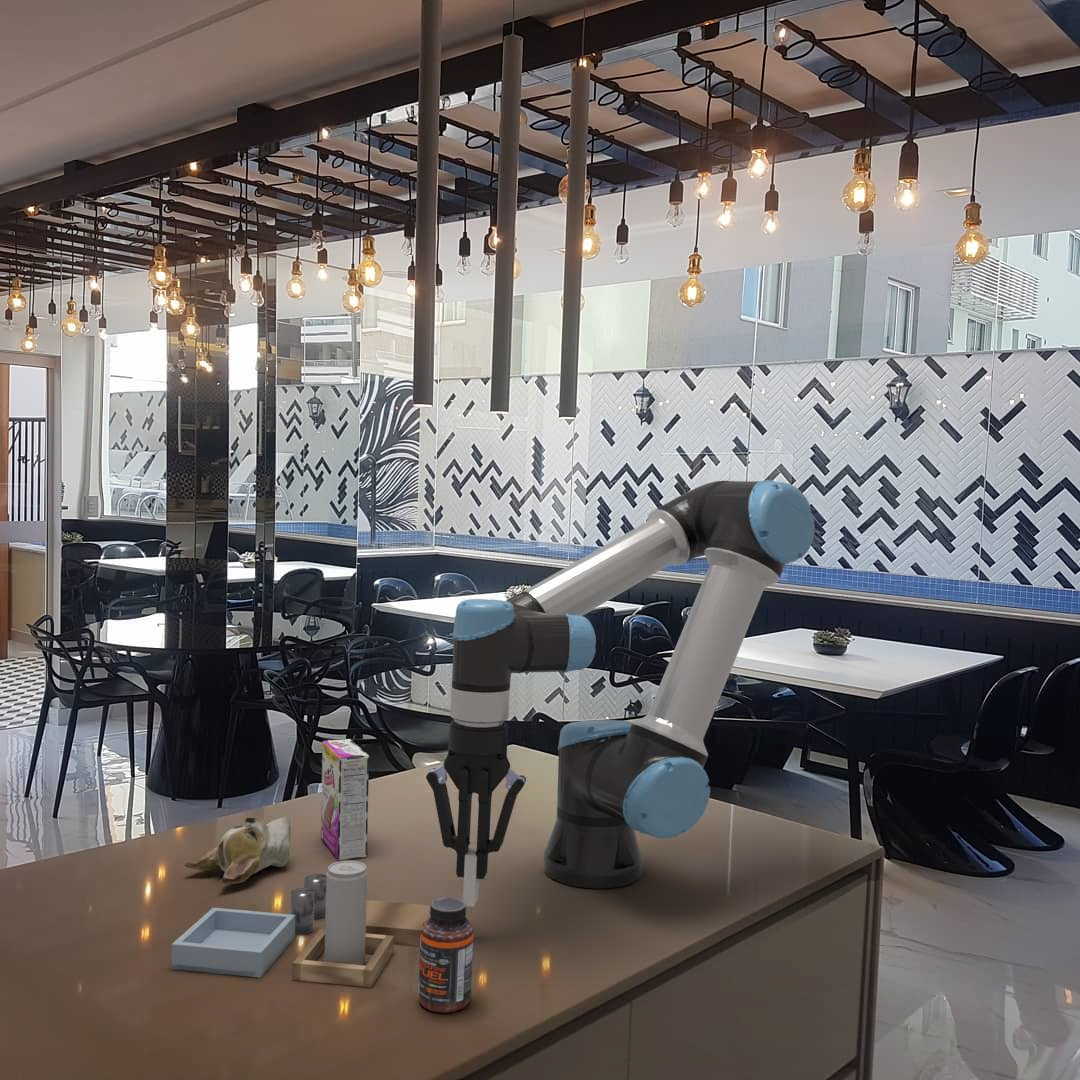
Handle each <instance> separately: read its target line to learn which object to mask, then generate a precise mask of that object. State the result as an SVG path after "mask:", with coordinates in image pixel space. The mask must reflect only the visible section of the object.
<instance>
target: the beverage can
mask: <svg viewBox="0 0 1080 1080" xmlns="http://www.w3.org/2000/svg"><path fill="white" fill-rule="evenodd" d="M326 876H327V881H326V916H325V924H324V928H325V929H324V930H325V950H324V962H332V963H342V964H353V965H364V964H365V961H366V953H365V938H366V902H367V900H368V899H367V896H368V894H367V893H368V890H367V889H368V870H367V865H366V864H365V863H364V862H361V861H357V860H345V861H339V860H338V861H337V862H336V861H335V862H333V863H331V864H329V866H328V867H327V871H326Z"/></svg>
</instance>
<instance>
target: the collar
mask: <svg viewBox="0 0 1080 1080" xmlns="http://www.w3.org/2000/svg"><path fill="white" fill-rule="evenodd" d="M394 947H395V944H394V936H389V935H378V934H367V933H366V938H365V954H372V956H371V957H370V959H369V961H368V963H367V964H366V965H364V964H363V965H353V964H342V963H332V962H325V961H319V960H318V959H319V958H320V956H321V954H322V953H323V952H325V929H321V928H320V929H319V930H318V931H317V933H316V934H315V935H314V937H312V939H311V940H310V941H309V942H308V944H307V945H306V946H305V947H304V948H303V950H301V952H300V953H299V954H298V956H297V957H296V958H295V960H294V961H292V969H291V970H292V975H291V978H292V979H291V980H292V981H302V982H312V983H324V984H330V985H331V984H332V985H341V986H342V985H343V986H353V987H364V988H372V987H373V986H374V984H375V983H376V981H377V979H378V978H379V976H380V975H381V973H382V971H383V970H384V968H385V967H386V965H387V963H388V961H389V960H390V958H391V956H392V955H393V953H394V952H395V948H394Z"/></svg>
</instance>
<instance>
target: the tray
mask: <svg viewBox="0 0 1080 1080" xmlns="http://www.w3.org/2000/svg"><path fill="white" fill-rule="evenodd" d="M295 937H296V935H295V915H291V914H290V913H289V914H288V913H280V912H279V913H277V912H268V911H267V912H265V911H256V910H255V911H254V910H246V909H244V910H243V909H232V908H221V907H211V909H209V911H208V912H206V913H204V915H203V916H202V917H200V919H199V920H198V921H196V922H195V923H194V924H192V925H191V926H190V928H188V929H187V930H186V931H184V933H183V934H181V935H180V936H179V937H178V938H177V939H176V940H175V941H173V943H171V967H170V968H171V970H177V971H178V970H179V971H185V972H187V971H188V972H197V973H199V972H200V973H206V974H207V973H208V974H218V975H219V974H221V975H228V976H229V975H230V976H239V977H248V978H249V977H250V978H260V979H261V978H262V977H263V976H264V975H265V973H266V972H267V971H268V970H269V969H270V968H271V966H272V965H273V964H274V963H275V962H276V960H277V959H278V958H279V957H280V956H281V955H282V954H283V953H284V952H285V950H286V949H287V947H289V946H290V944H292V942H293V941H294V940H295Z"/></svg>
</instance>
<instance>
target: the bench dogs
mask: <svg viewBox="0 0 1080 1080" xmlns="http://www.w3.org/2000/svg"><path fill="white" fill-rule="evenodd" d="M303 881H304V883H303V884H304V887H298V888H295V889H293V890H291V891H290V913H289V914H291V915H295V936H304V935H309V934H311V933H313V932H314V929H315V927H314V925H315V920H318V919H319V920H320V919H322V918H326V881H327V874H326V875H325V874H321V873H312V874H307V875H306V876H305V877H304V880H303Z"/></svg>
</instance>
